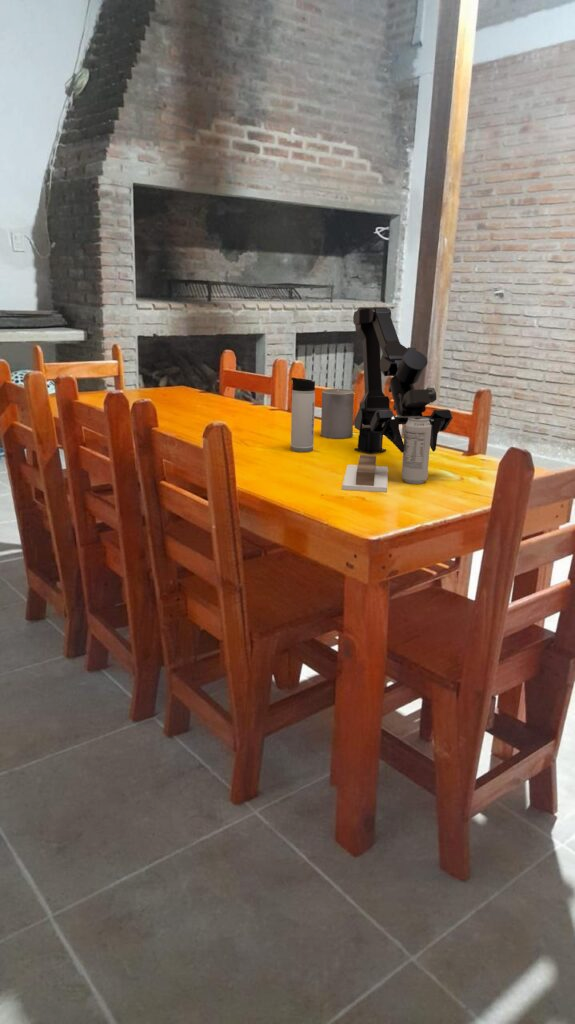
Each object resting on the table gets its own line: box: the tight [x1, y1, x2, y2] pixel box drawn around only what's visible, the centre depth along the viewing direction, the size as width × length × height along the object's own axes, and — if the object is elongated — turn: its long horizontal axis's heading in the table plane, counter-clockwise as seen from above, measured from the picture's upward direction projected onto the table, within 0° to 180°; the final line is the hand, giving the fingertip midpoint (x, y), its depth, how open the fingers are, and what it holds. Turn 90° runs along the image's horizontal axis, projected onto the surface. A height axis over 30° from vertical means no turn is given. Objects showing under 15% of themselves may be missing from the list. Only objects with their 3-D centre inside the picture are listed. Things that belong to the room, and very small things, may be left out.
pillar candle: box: [320, 386, 355, 440], centre depth 218 cm, size 10×10×15 cm
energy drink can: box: [401, 416, 431, 485], centre depth 168 cm, size 6×6×15 cm
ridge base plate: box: [341, 464, 389, 493], centre depth 170 cm, size 20×10×1 cm, turn 172°
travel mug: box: [290, 377, 316, 453], centre depth 197 cm, size 6×7×20 cm
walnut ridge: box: [356, 454, 377, 486], centre depth 170 cm, size 18×4×3 cm, turn 172°
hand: (418, 451), depth 166 cm, fingers open, 7 cm apart
